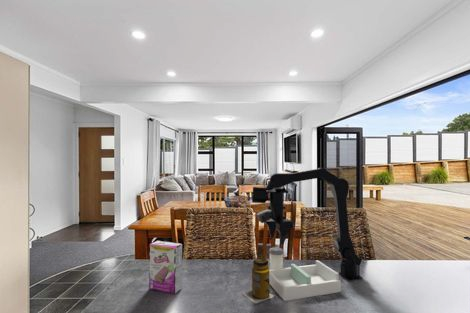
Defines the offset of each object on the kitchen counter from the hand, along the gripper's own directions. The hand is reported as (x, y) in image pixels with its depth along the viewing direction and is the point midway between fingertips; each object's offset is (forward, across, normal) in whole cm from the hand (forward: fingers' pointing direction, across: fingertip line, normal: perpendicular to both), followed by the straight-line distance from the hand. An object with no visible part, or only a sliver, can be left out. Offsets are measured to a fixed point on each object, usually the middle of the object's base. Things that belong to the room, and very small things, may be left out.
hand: (276, 240), depth 106 cm
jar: (+13, -1, 0) cm, 13 cm away
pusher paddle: (+12, +13, +4) cm, 18 cm away
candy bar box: (+14, +1, -45) cm, 47 cm away
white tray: (+13, +13, +4) cm, 19 cm away
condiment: (+14, +15, -14) cm, 24 cm away
